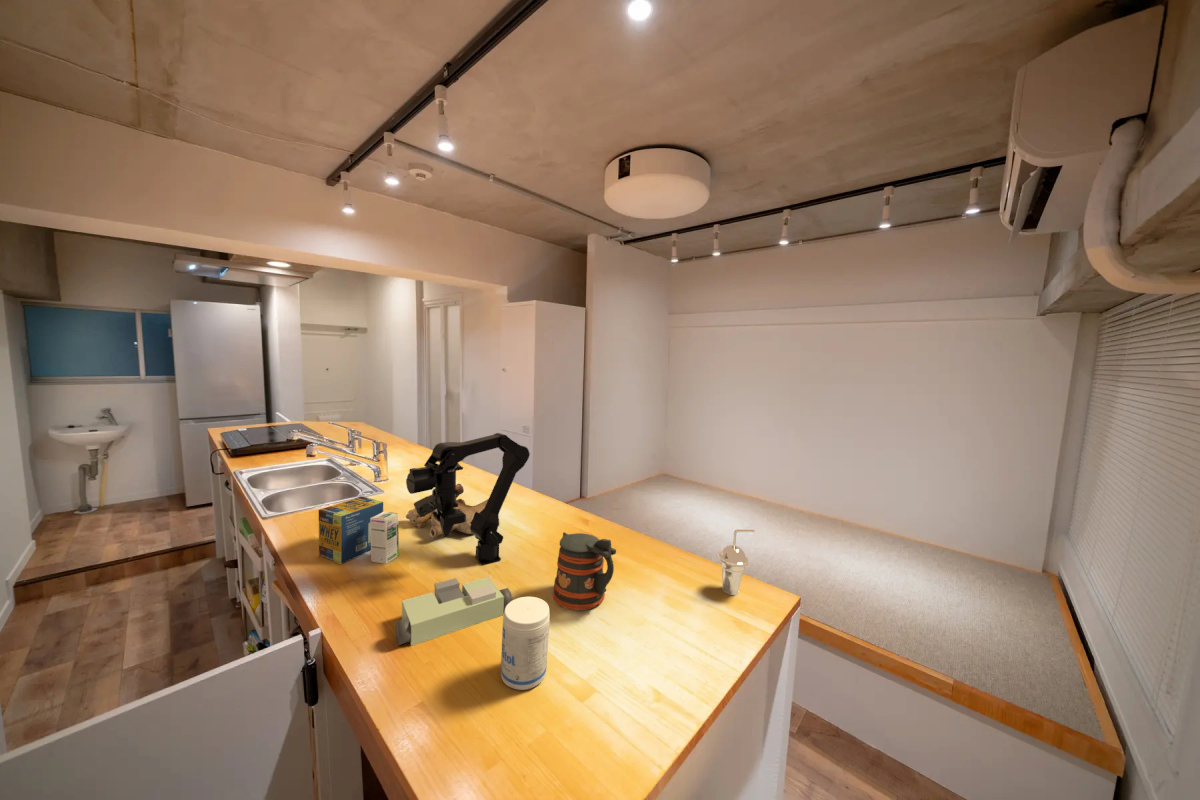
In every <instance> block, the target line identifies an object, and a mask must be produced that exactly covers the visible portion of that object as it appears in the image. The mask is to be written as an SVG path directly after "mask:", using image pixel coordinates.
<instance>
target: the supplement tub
mask: <svg viewBox="0 0 1200 800" xmlns="http://www.w3.org/2000/svg"><path fill="white" fill-rule="evenodd" d="M502 616H503V617H502V618H503V619H502V633H501V634H502V635H501V655H500V656H501V659H500V676H501V677H500V678H501V679H502V682H503V683H504V684H505V685H506V686H507V687H509V688H512V689H514V690H517V691H524V690H531V689H532V688H535V687H536V686H538V685H539V684H541V683H542V681H543V680H544V679H545V677H546V675H547V669H548V667H547V666H548V649H549V632H550V618H551V617H550V607H549V604H548V603H547V601H545V600H543V599H541V598H538V597H536V596H523V597H522V596H521V597H518V598H515V599H512V601H511V602H510V603H508V605H507V606H506V607H505V610H504V611H503V615H502Z"/></svg>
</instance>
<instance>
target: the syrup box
mask: <svg viewBox="0 0 1200 800" xmlns="http://www.w3.org/2000/svg"><path fill="white" fill-rule="evenodd" d="M370 527H371V551H370V561H371V562H373V563H376V564H377V563H379V564H385V565H387V564H388V563H390V562H392V561H393V560H394V559H396V558H398V557H399V556H400V553H399V551H400V550H399V548H400V544H399V513H396V512H394V511H383V512H382V513H380V514H378V515H376V516H374V517H372V518H370Z"/></svg>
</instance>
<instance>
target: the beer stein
mask: <svg viewBox="0 0 1200 800" xmlns="http://www.w3.org/2000/svg"><path fill="white" fill-rule="evenodd" d="M616 554H617V549H615V548H613V547H612V541H611V539H606V538H602V539H599V538H598V537H597V536H594V535H592V534H588V533H582V532H581V533H579V532H578V533H576V532H575V533H566V532H563V533H562V537H561V538H560V540H559V551H558V557H557V563H556V564H557V571H556V576H555V579H554V582H553V583H554V585H553V586H554V587H553V593H552V595H553V597H552V598H553V601H554V602H555V603H556V605H558V606H559V607H561V608H564V609H565V608H566V609H568V610H572V611H589V610H592V609H594V608H596V607H598V606H600V605H601V603H603V602H604V600H605V595H606V592H607V588H606V587H607V586H608V585H609V583H610V581H611V580H612V578H613V576H614V569H615V568H614V567H615V566H614V561H613V558H612V556H613V555H616ZM605 561H606V566H607V567H606V568H607V569H606V571H605V572H604V563H605Z"/></svg>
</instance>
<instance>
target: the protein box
mask: <svg viewBox="0 0 1200 800" xmlns="http://www.w3.org/2000/svg"><path fill="white" fill-rule="evenodd" d="M382 512H384V501H380V500H377V499H373V498H371V497H366V496H362V495H361V496H358V497H355V498H352V499H348V500H346V501H342V502H340V503H337V504H336V503H335V504H333V505H331V506H328V507H324V508H321V509H318V556H319V557H320V558H323V559H325V560H329V561H331V562H334V563H337V564H340V565H341V564H345V563H347V562H349V561H351V560H353V559H355V558H357V557H360V556H362V555H364V554H367V553H369V552H371V527H370V518H372V517H374V516H376V515H378V514H380V513H382Z"/></svg>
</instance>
